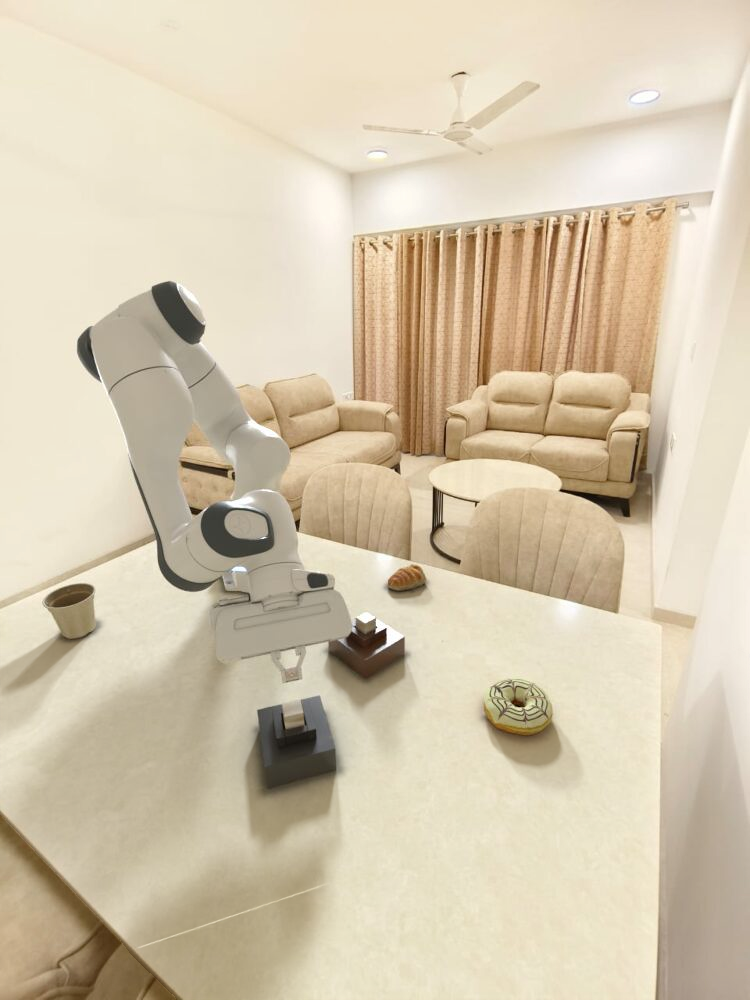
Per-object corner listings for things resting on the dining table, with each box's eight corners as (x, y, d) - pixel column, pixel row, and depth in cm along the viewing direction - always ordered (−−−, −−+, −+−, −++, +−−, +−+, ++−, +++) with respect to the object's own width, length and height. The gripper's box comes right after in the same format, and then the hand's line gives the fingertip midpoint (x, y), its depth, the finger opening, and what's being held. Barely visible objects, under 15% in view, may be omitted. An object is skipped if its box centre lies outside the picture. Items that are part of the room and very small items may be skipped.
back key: (355, 628, 95) (355, 617, 94) (366, 622, 97) (366, 611, 96) (365, 635, 93) (364, 623, 92) (376, 628, 95) (376, 617, 94)
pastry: (399, 596, 115) (399, 582, 114) (380, 585, 120) (380, 571, 119) (428, 583, 121) (428, 569, 119) (409, 572, 126) (409, 559, 124)
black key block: (259, 729, 80) (255, 700, 78) (321, 715, 83) (319, 686, 80) (267, 789, 70) (263, 757, 68) (336, 770, 73) (334, 739, 71)
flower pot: (58, 651, 99) (47, 614, 95) (48, 629, 105) (38, 594, 102) (109, 631, 104) (100, 595, 101) (97, 612, 111) (88, 578, 108)
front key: (282, 716, 75) (281, 703, 74) (301, 712, 76) (300, 699, 75) (285, 730, 73) (284, 717, 72) (304, 726, 73) (303, 712, 72)
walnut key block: (328, 650, 98) (327, 625, 96) (366, 629, 104) (366, 604, 102) (365, 679, 90) (365, 652, 88) (404, 654, 96) (404, 628, 94)
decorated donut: (477, 691, 87) (478, 674, 86) (539, 691, 87) (541, 673, 86) (490, 740, 77) (491, 721, 76) (559, 739, 77) (562, 720, 76)
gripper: (206, 596, 72) (216, 696, 67) (343, 573, 78) (362, 663, 73) (210, 606, 78) (220, 699, 73) (338, 583, 84) (355, 668, 79)
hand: (292, 681), depth 73 cm, fingers closed
